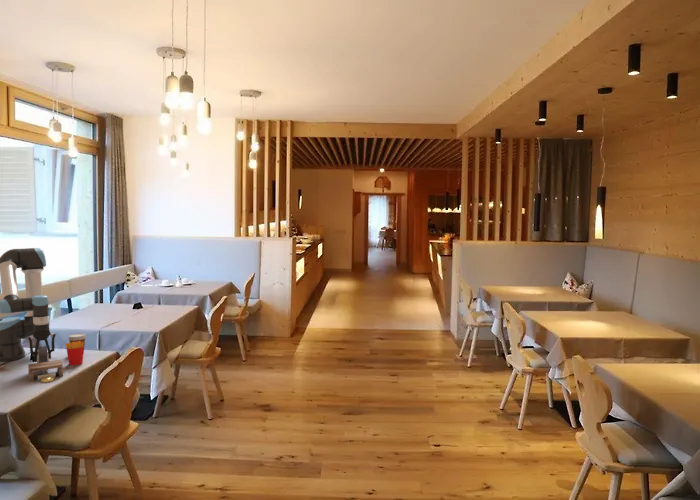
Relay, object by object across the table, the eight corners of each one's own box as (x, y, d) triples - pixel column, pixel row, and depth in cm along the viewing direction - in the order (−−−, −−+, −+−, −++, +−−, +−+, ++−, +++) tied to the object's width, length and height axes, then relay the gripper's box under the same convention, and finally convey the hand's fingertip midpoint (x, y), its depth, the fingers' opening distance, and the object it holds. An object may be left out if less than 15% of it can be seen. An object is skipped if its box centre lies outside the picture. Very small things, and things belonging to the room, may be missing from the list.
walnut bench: (28, 376, 279) (28, 364, 279) (60, 371, 288) (60, 359, 287) (30, 381, 271) (29, 369, 271) (62, 376, 280) (62, 364, 279)
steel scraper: (34, 368, 291) (33, 347, 290) (51, 366, 296) (50, 345, 295) (38, 379, 273) (37, 357, 272) (55, 377, 277) (54, 354, 276)
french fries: (84, 361, 305) (83, 340, 304) (84, 363, 301) (83, 341, 300) (66, 364, 301) (65, 341, 300) (66, 366, 297) (65, 343, 296)
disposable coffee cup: (79, 357, 314) (78, 337, 313) (65, 356, 316) (64, 336, 315) (90, 352, 323) (89, 333, 322) (76, 351, 325) (75, 332, 324)
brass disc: (40, 380, 273) (40, 377, 273) (53, 378, 277) (53, 375, 277) (41, 383, 269) (41, 380, 268) (54, 381, 272) (54, 378, 272)
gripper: (23, 327, 281) (25, 369, 283) (59, 323, 291) (61, 364, 293) (22, 324, 287) (24, 366, 289) (58, 320, 297) (59, 360, 299)
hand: (43, 365), depth 291 cm, fingers closed on steel scraper, 4 cm apart
